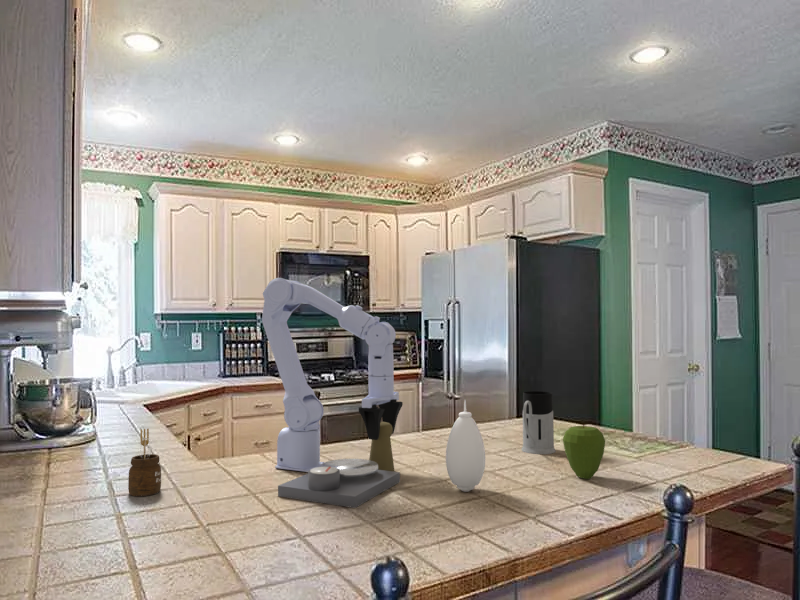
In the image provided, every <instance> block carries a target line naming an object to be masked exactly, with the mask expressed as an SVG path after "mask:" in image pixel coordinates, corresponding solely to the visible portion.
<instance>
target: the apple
mask: <svg viewBox="0 0 800 600" xmlns="http://www.w3.org/2000/svg"><path fill="white" fill-rule="evenodd" d="M562 443H563V449H564V453H565V455H566V458H567V461H568V464H569V466H570V468H571V470H572V471H573V473H574V474H575V475H576V477H577V478H581V479H585V480H589V479H592V477H594V475H595V474H596V473H597V472H598V471H599V469H600V466H601V463H602V459H603V456H604V454H605V448H606V447H605V446H606V439H605V437H604V434H603V432H602V431H600V429H598V427H593V426H585V424H583V425H577V426H576V425H575V426H571V427H569V428H567V430H566V431H564V435H563V437H562Z"/></svg>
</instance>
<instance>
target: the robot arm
mask: <svg viewBox="0 0 800 600" xmlns="http://www.w3.org/2000/svg"><path fill="white" fill-rule="evenodd" d="M262 296H263V300H264V301H263V307H262V308H263V310H262V316H261V321H262V325H263V328H264V331H265V334H266V337H267V340H268V343H269V346H270V349H271V352H272V355H273V358H274V361H275V365H276V367H277V368H276V369H277V370H278V374H279V377H280V380H281V382H282V386H283V388H284V391H285V392H284V396H283V400H282V403H283V407H284V413H283V415H284V416H283V417H284V421H285V423H286V425H287V426H288V427H283V428H282V429H281V430H280V432H279V433H278V435H277V440H276V442H277V443H276V446H277V449H276V457H277V458H276V465H275V466H274V468H275V469H279V470H280V469H281V470H288V471H296V472H305V473H308V471H309V470H311V469H313V468H316V467H320V465H321V464H322V463H324V462H323V461H321V425H320V421H321V420H322V418H323V416H324V405H323V403H322V402H321V400H320V399H318V397H317V396H316V393H315V391H314V390H313V389H312V387H311V386H310V385H309V384H308V381H307V379H306V376H305V373H304V370H303V367H302V364H301V362H300V357H299V356H298V353H297V349H296V346H295V343H294V340H293V338H292V334H291V331H290V328H289V326H288V320H289V318H290V317H291V316H292V314H293V312H294V311H295V310H296V309H297V308H298V307H300V306H301V305H305V304H306V305H310V306H312V307H314V308H316V309H318V310H319V311H322V312H323V313H325V314H328V315H329V316H331V317H333V318H335V319H337V321H338V325H339V327H340V328H342V329H344V330H345V331H347V332H349V333H351V334H352V335H354V336H355V337H358V338H359V339H361V340H362V341H363V340H364V341H365V343H366V344H367V345H368V358H367V359H368V360H367V361H368V362H367V363H368V374H367V375H368V381H367V382H368V395H366V396H365V397H364V398H361V405H360V406H358V412H359V414H360V416H361V418H362V420H363V422H364V426H365V429H366V433H367V438H368V439H369V440H371V441H372V440H378V438H379V433H380V423H381V422H387V423H390V424H391V425H392V428H393V432H392V435H393V434H394V432H395V429H396V425H397V424H396V423H397V420H398V416H399V414H400V411H401V409H402V407H403V405H404V404H403V403H404V402H403V401H399V400H400V394H399V393H400V392H399V391H395V387H394V386H395V385H394V383H395V382H394V381H395V378H394V371H395V369H394V367H395V366H394V364H395V363H394V344H393V343H394V342H395V340H396V338H397V337H396V336H397V335H396V334H397V333H396V330H395V328H394V327H393V325H391V324H390V322H388V321H387V322H386V321H381V322H380V320H381V317H379V316H377V315H375V316H373V315H371V314H370V313H368V312H365V311H364V310H363V307H362V306H360V305H353V304H350V305H347V306H344V305H342V304H340V303H339V302H338V301H336V300H334V299H332V298H331V297H329V296H327V295H326V294H324V293H323V292H321V291H319V290H318V289H316V288H315V287H312V286H310V285H307V284H305V283H302V282H301V281H298V280H291V279H285V278H283V277H275V278H274V279H271V280H270V281H269V282H268V284H267V286H266V287H265V289H264V291H262Z"/></svg>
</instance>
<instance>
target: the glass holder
mask: <svg viewBox="0 0 800 600" xmlns="http://www.w3.org/2000/svg"><path fill="white" fill-rule="evenodd" d="M522 394H523V395H522V402H523V403H522V406H523V407H522V447H521V450H520V451H521V452H523V453H527V454H533V455H551V454H554V453H556V449H555V446H554V444H555V439H554V438H555V437H554V436H555V434H554V433H555V432H554V430H555V429H554V410H553V408H554V407H553V392H550V391H543V390H542V391H541V390H540V391H539V390H536V391H534V390H532V391H531V390H529V391H523V393H522Z"/></svg>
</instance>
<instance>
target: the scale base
mask: <svg viewBox="0 0 800 600" xmlns="http://www.w3.org/2000/svg"><path fill="white" fill-rule="evenodd" d="M400 482H401V471H395V472H393V471H385V470H378V472H376V473H375V474H372V475H369V476H364V477H356V478H340V470H339V469H337V468H334V467H316V468H313V469H311V470H309V471H308V472H307V473H306V474H303V475H301V476H298V477H296V478H293V479H291V480H289V481H286V482H284V483H281V484H279V485H277V496H278V497H280V498H281V497H282V498H287V499H293V500H294V499H295V500H301V501H308V502H312V503H313V502H314V503H318V504H319V503H322V504H328V505H334V506H340V507H346V508H347V507H348V508H354V509H355V508H358V507H359V506H360V505H362V504H365V503H366V502H367V501H369V500H371V499H373V498H374V497H376V496H377V495H379V494H382V493H384V492H385V491H387V490H389V489H391V488H392V487H394V486H396V485H397V484H399V483H400Z"/></svg>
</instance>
